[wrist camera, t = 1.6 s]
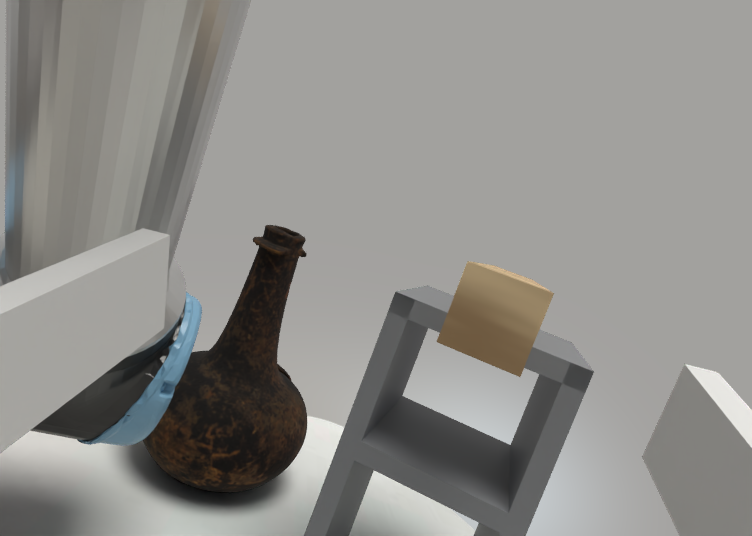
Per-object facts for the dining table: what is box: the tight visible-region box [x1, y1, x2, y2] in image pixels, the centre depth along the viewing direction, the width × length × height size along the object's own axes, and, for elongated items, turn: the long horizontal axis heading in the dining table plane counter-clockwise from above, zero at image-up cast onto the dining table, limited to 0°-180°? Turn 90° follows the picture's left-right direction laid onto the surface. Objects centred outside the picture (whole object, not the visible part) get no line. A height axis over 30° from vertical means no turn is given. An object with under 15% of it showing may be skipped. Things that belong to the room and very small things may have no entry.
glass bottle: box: [143, 225, 307, 492], centre depth 57 cm, size 18×18×28 cm
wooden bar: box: [437, 261, 554, 377], centre depth 38 cm, size 30×4×4 cm, turn 164°
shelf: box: [304, 286, 594, 536], centre depth 43 cm, size 14×14×28 cm
